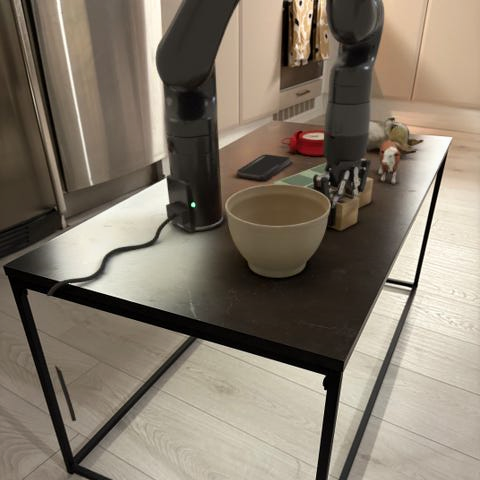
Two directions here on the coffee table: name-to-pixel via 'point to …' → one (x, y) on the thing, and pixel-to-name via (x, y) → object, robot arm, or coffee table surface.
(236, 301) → the coffee table surface
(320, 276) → the coffee table surface
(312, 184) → the word board
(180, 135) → the robot arm
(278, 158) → the phone
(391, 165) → the bull figurine
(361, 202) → the slotted coin box
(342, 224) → the light wooden block
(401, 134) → the ceramic sculpture
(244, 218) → the planter bowl
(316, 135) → the alarm clock
